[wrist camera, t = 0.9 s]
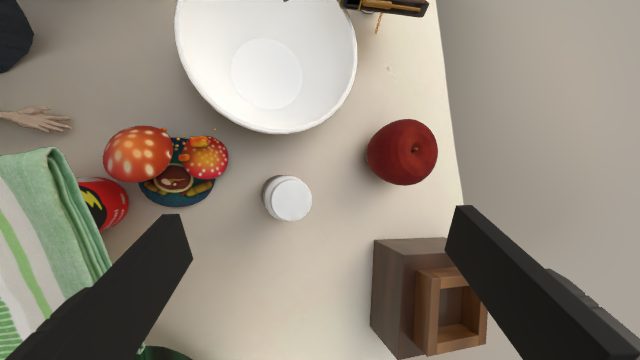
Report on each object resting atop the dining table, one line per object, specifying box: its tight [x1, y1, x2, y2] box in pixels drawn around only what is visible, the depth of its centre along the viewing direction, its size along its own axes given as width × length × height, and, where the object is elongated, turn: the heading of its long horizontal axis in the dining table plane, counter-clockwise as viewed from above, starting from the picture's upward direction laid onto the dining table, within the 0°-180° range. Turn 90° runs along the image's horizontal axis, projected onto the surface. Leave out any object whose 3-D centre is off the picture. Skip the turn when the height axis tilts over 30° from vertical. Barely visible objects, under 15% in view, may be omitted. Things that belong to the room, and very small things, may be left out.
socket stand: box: [370, 237, 488, 360], centre depth 39 cm, size 15×15×11 cm
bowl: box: [174, 0, 358, 134], centre depth 31 cm, size 20×20×10 cm
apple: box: [367, 119, 438, 186], centre depth 37 cm, size 10×10×10 cm
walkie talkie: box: [283, 0, 429, 34], centre depth 30 cm, size 13×13×18 cm
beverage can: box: [76, 177, 129, 232], centre depth 24 cm, size 6×6×12 cm
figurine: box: [103, 126, 228, 207], centre depth 28 cm, size 12×9×8 cm
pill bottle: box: [261, 175, 312, 221], centre depth 32 cm, size 6×6×10 cm
